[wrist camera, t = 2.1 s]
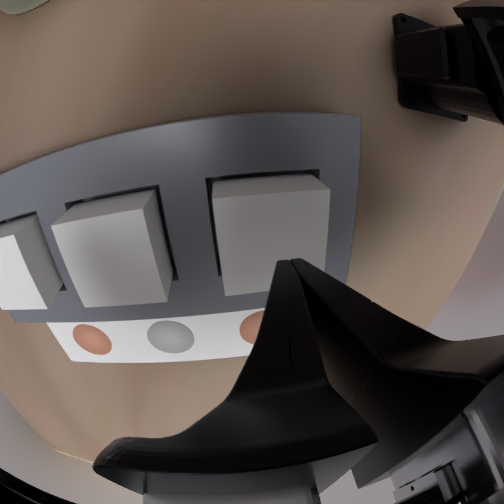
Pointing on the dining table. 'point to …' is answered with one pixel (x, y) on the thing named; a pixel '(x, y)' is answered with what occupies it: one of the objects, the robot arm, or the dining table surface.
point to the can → (19, 5)
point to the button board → (187, 197)
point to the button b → (268, 227)
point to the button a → (26, 266)
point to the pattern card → (161, 338)
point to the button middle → (116, 250)
